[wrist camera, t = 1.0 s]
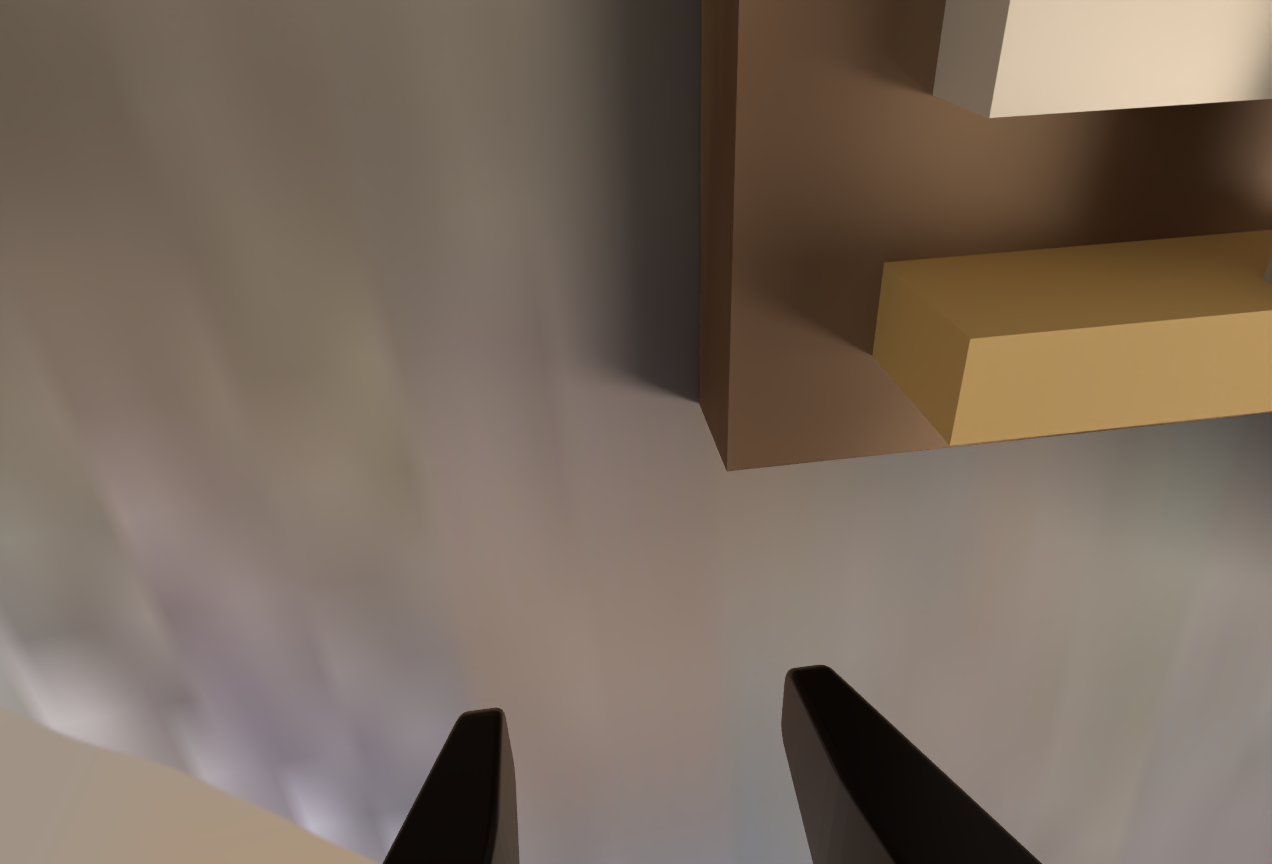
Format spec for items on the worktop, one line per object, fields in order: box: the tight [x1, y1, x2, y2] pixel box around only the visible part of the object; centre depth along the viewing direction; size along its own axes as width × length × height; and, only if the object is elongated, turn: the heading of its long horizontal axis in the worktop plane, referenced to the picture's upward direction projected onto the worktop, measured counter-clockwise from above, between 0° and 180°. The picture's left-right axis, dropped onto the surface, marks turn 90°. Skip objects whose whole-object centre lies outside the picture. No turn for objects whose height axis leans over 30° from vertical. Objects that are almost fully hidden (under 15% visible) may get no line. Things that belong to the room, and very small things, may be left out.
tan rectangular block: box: [872, 230, 1272, 446], centre depth 14 cm, size 10×6×4 cm, turn 92°
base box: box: [700, 0, 1272, 471], centre depth 16 cm, size 17×17×3 cm
